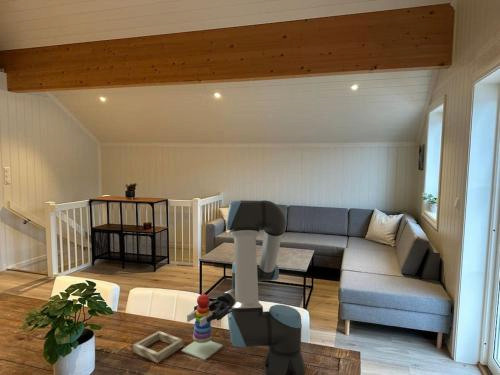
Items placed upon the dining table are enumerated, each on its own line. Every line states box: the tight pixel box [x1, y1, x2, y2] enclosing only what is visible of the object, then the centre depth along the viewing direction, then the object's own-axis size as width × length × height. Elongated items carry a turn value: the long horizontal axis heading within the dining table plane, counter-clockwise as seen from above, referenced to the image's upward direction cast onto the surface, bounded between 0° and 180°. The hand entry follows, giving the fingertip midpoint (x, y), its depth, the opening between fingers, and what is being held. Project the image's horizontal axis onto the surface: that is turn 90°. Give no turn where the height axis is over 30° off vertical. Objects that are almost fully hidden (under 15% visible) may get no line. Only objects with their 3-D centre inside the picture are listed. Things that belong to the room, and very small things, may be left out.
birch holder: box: [132, 330, 184, 363], centre depth 141 cm, size 14×14×3 cm
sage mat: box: [180, 340, 224, 361], centre depth 141 cm, size 12×12×1 cm
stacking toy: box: [192, 294, 213, 343], centre depth 141 cm, size 8×8×19 cm
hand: (194, 320), depth 136 cm, fingers closed on stacking toy, 6 cm apart
